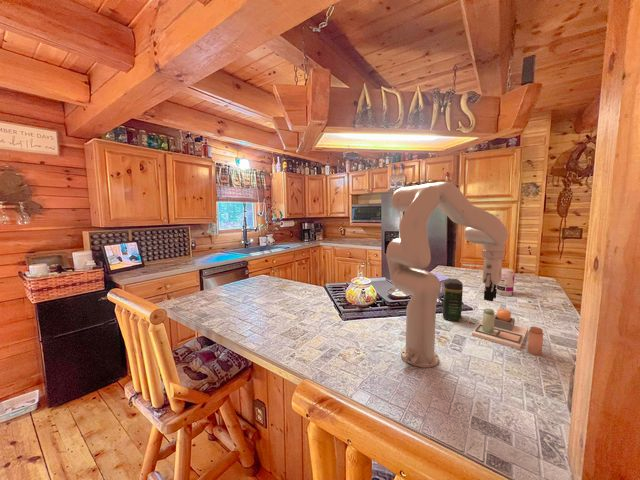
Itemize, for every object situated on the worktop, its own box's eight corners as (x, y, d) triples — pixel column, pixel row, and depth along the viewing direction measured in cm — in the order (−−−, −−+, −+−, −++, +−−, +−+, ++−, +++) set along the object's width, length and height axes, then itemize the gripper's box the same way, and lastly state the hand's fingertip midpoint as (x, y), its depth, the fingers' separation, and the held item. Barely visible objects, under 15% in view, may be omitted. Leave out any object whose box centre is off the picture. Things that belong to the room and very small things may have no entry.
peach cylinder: (540, 356, 92) (543, 332, 91) (526, 352, 95) (528, 329, 94) (542, 352, 95) (544, 328, 94) (528, 348, 98) (530, 325, 97)
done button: (509, 323, 110) (509, 314, 109) (495, 320, 113) (496, 311, 113) (511, 320, 113) (511, 311, 113) (498, 317, 117) (498, 308, 116)
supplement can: (512, 293, 158) (514, 268, 156) (513, 297, 151) (515, 272, 149) (496, 291, 162) (497, 267, 160) (496, 295, 155) (498, 270, 153)
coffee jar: (462, 322, 120) (464, 283, 118) (443, 320, 123) (444, 281, 121) (460, 314, 129) (461, 277, 126) (442, 312, 132) (443, 276, 129)
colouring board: (520, 349, 97) (521, 338, 97) (471, 335, 108) (472, 325, 108) (527, 330, 111) (528, 320, 111) (484, 319, 122) (484, 310, 122)
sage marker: (492, 334, 106) (493, 312, 105) (481, 331, 109) (482, 310, 108) (494, 330, 109) (495, 309, 108) (483, 327, 112) (484, 307, 111)
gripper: (499, 259, 97) (496, 307, 99) (508, 253, 108) (505, 295, 111) (476, 256, 102) (473, 302, 104) (487, 251, 114) (484, 291, 116)
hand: (489, 298), depth 107 cm, fingers open, 4 cm apart
